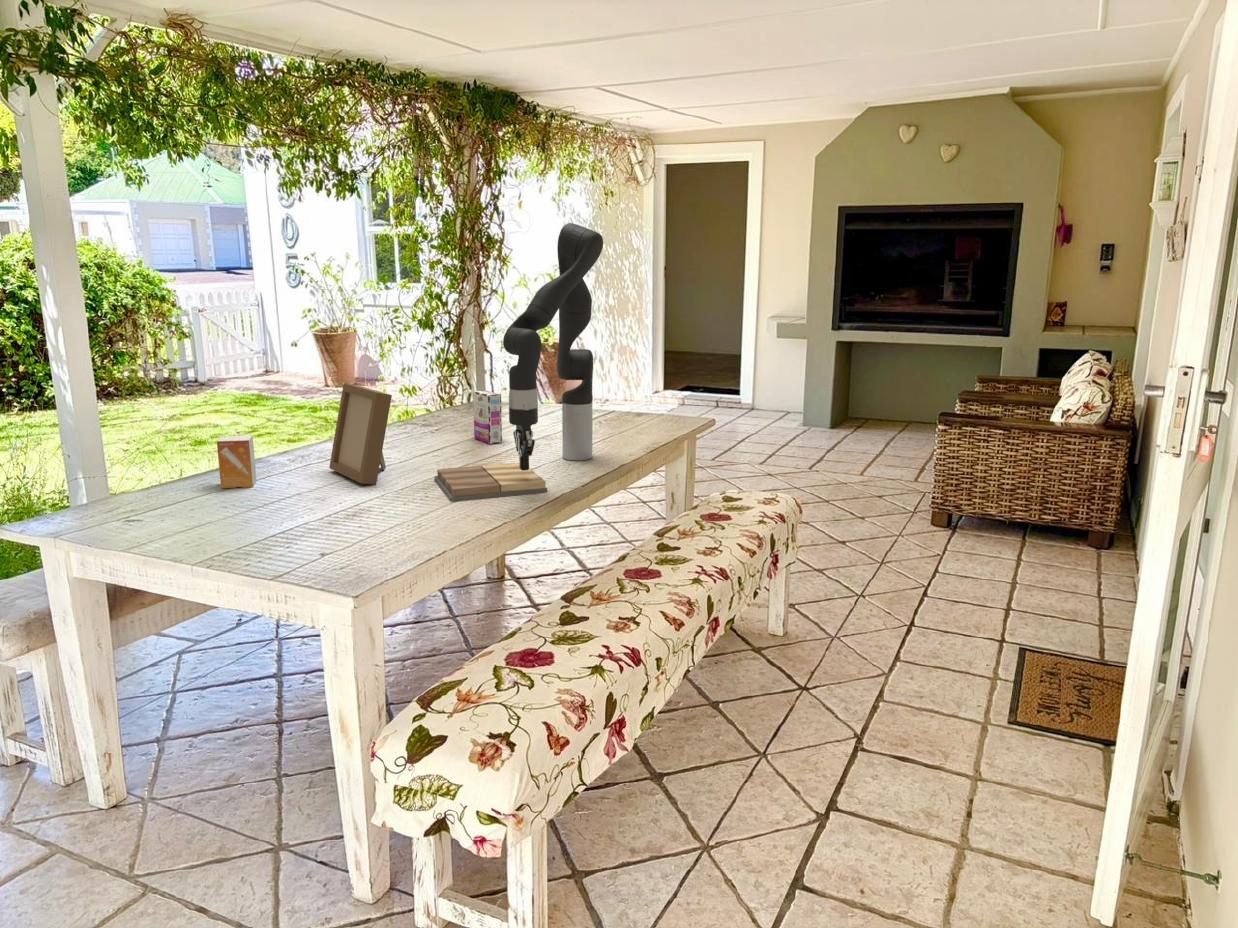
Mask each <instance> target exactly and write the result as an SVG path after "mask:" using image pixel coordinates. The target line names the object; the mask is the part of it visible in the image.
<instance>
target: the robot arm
mask: <svg viewBox="0 0 1238 928" xmlns="http://www.w3.org/2000/svg"><path fill="white" fill-rule="evenodd" d="M603 247H604V238H603V236H602V234H601V233H599V232H597V231H595V230H593V229H590V228H587V227H584V226H582V225H580V224H576V223H573V222H572V223H571V222H570V223H569V222H568V223H565V224H564V225H563V227H561V228H560V232H559V234H558V238H557V262H558V271H559V275H558V276H556V277H555V278H553V279H552V280H550V281H548V282H546V283H545V284H544V285H542V286H541V287H540V288H539V289H538V291H536V293H535V294H534V296H533V297H532V300H531V301H530V303H529V304H528V306H527V308H526V309H525V311H524V312H522V314H520V315H519V316H518V317H517V318H516V319H515V320H514V321H513V322H512V323H511V324H510V326H509V327H508V328H507V330H506V331H505V333H504V336H503V339H502V343H503V344H502V345H503V348H504V351H506V352H507V353H508V354H510V355H512V356H518V357H517V358H518V359H517V364H515V365H513V366H510V367H509V371H508V376H509V377H508V379H509V381H508V386H509V391H508V421H509V422H508V423H509V424H510V425H512V426H515V430H514V431H513V433H512V434H513V439H514V443H515V449H516V452H517V454H518V456H519V457H518V459H519V463H520V469H521V470H522V471H523V470H529V468H530V457H531V456H532V455H533V451H534V447H535V443H536V441H535V438H534V439H533V436H534V432H533V430H532V425H536V424H537V423H538V421H539V412H538V411H539V407H538V402H539V400H538V399H539V398H538V397H539V396H538V390H537V386H538V385H537V371H538V368H539V364H540V359H541V355H542V348H543V345H542V338H541V336H540V335H539V333H538V332H537V331H539V330H543V329H546V328H548V326H549V325H550V324H551V322H552V320H553V319H554V317H555V316H556V315H557V312H558V326H559V327H558V344H557V345H558V348H557V357H556V358H557V359H556V372H557V375H558V378H559V379H560V380H563V381H581V383H579V385H578V386H576V387H574V388H571V389H570V390H567V391H564V392H563V393H562V395H561V403H562V404H561V413H562V416H561V417H562V418H561V420H562V421H561V422H562V423H561V424H562V425H561V426H562V429H561V430H562V433H561V434H562V440H561V441H562V447H561V448H562V459H565V460H567V461H587V460H591V459H592V458H593V379H594V378H593V377H594V376H593V375H594V355H593V352H592V350H590V349H587V348H584V349H583V348H582V349H579V348H578V349H577V348H575V349H571V348H572V345H573V344H574V342H575V341H576V339H578V337H579V336H580V335H581V334H582V333H583V332H584V331H585V329H586V328H587V327H588V325H589V323H590V322H591V319H592V309H593V308H592V307H593V305H592V304H593V300H592V299H593V298H592V295H591V292H590V290H589V288H588V286H587V284H586V282H585V279H584V277H585V276H586V275H587V274H588V272H590V270H591V269H592V267H593V266H595V264H596V262H597V261H598V260H599V258H600V256H601V254H602V251H603Z"/></svg>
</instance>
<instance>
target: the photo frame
mask: <svg viewBox="0 0 1238 928" xmlns="http://www.w3.org/2000/svg"><path fill="white" fill-rule="evenodd" d="M342 385H343V386H342V388H341V389H342V390H341V396H340V400H339V401H340V402H339V406H338V407H339V409H338V413H337V421H336V424H335V425H336V426H335V432H334V438H333V444H332V450H331V455H330V461H329V469H330V470H332V471H335V472H336V473H339V474H341V475H343V476H345V477H347V478H349V479H351V480H353V481H355V482H358V483H360V484H363V485H364V484H365V485H375V486H376V485H377V483H378V478H379V477H378V476H379V471H380V468H381V471H382V472H384V471H385V469H386V468H387V467H386V461H385V457H384V453H383V449H384V443H385V437H386V430H387V424H388V420H389V419H388V418H389V413H390V408H391V402H392V396H393V395H392V394H389V393H386V392H382V391H379V390H375V389H372V388H367V387H365V386H364V387H363V386H360V385H357V384H349V383H343V384H342Z"/></svg>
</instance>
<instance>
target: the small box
mask: <svg viewBox="0 0 1238 928" xmlns="http://www.w3.org/2000/svg"><path fill="white" fill-rule="evenodd" d="M254 446H255V445H254V436H253V435H233V436H232V435H229V436H220V437H219V439H217V440H216V447H217V448H216V449H217V458H218V469H219V479H220V480H219V482H220V488H221V489H237V488H236V487H242V488H254V486H255V485H254V484H256V483H257V469H256V460H255V459H256V457H255V447H254Z"/></svg>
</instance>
